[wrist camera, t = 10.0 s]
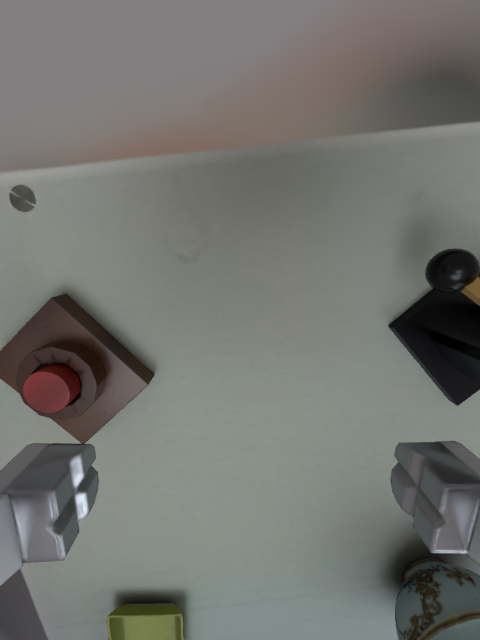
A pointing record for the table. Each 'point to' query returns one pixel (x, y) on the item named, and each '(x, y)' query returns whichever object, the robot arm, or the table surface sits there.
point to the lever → (455, 273)
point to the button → (51, 388)
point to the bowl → (438, 602)
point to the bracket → (444, 341)
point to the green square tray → (146, 622)
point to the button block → (75, 365)
